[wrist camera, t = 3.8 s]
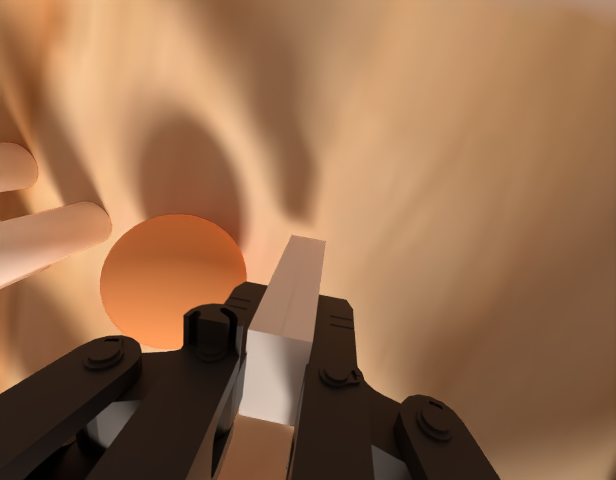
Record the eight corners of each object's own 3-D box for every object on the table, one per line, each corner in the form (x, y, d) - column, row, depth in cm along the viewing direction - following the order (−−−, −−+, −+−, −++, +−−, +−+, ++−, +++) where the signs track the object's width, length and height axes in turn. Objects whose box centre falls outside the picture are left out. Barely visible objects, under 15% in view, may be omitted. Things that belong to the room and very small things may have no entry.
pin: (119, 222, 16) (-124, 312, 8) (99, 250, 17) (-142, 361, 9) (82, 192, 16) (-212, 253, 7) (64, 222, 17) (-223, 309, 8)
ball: (38, 337, 9) (77, 259, 14) (186, 402, 12) (175, 321, 17) (188, 205, 10) (174, 175, 15) (290, 301, 13) (250, 250, 18)
